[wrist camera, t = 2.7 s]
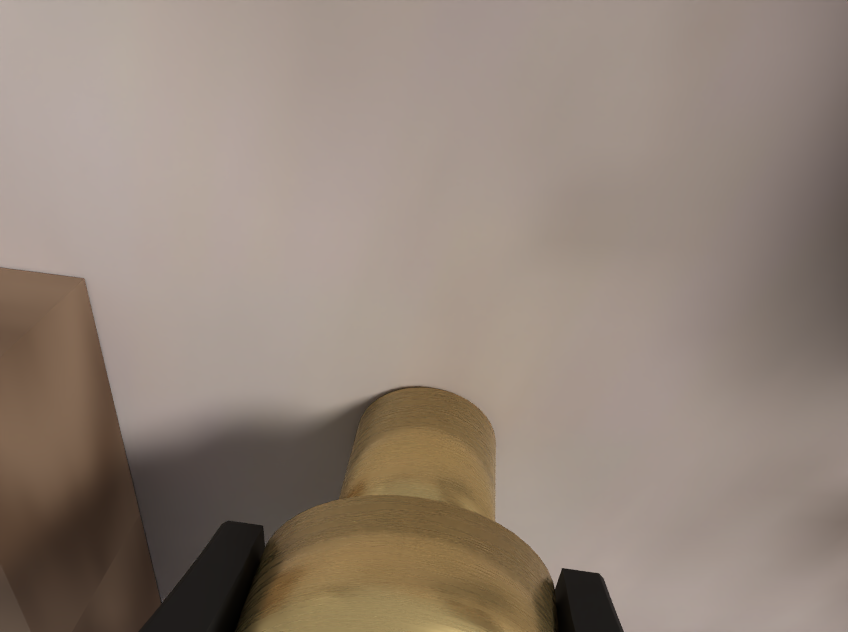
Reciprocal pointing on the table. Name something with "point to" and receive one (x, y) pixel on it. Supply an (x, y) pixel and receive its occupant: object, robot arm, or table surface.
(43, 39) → the table surface
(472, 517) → the brass peg
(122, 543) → the walnut block
